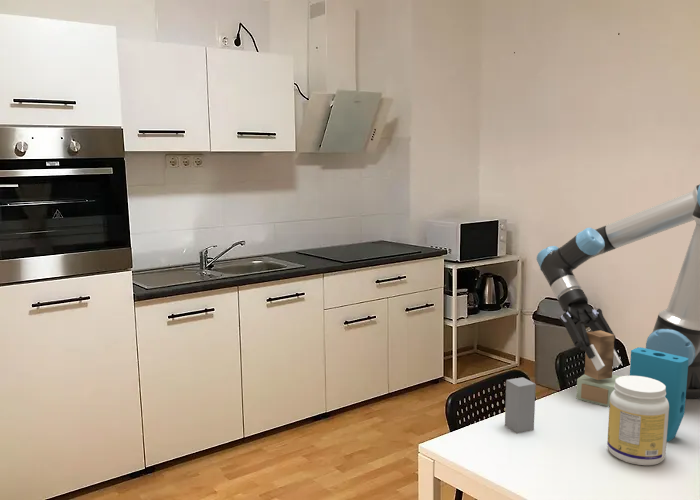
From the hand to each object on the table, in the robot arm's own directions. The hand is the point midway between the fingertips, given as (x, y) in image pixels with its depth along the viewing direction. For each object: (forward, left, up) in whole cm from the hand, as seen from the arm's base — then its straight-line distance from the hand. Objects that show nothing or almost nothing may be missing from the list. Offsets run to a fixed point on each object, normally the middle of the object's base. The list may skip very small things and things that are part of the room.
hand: (609, 366), depth 169 cm
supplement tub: (-15, +24, -11) cm, 31 cm away
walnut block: (+3, -2, -4) cm, 5 cm away
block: (-15, +10, -11) cm, 21 cm away
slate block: (+12, +28, -11) cm, 33 cm away
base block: (+3, -4, -11) cm, 13 cm away
